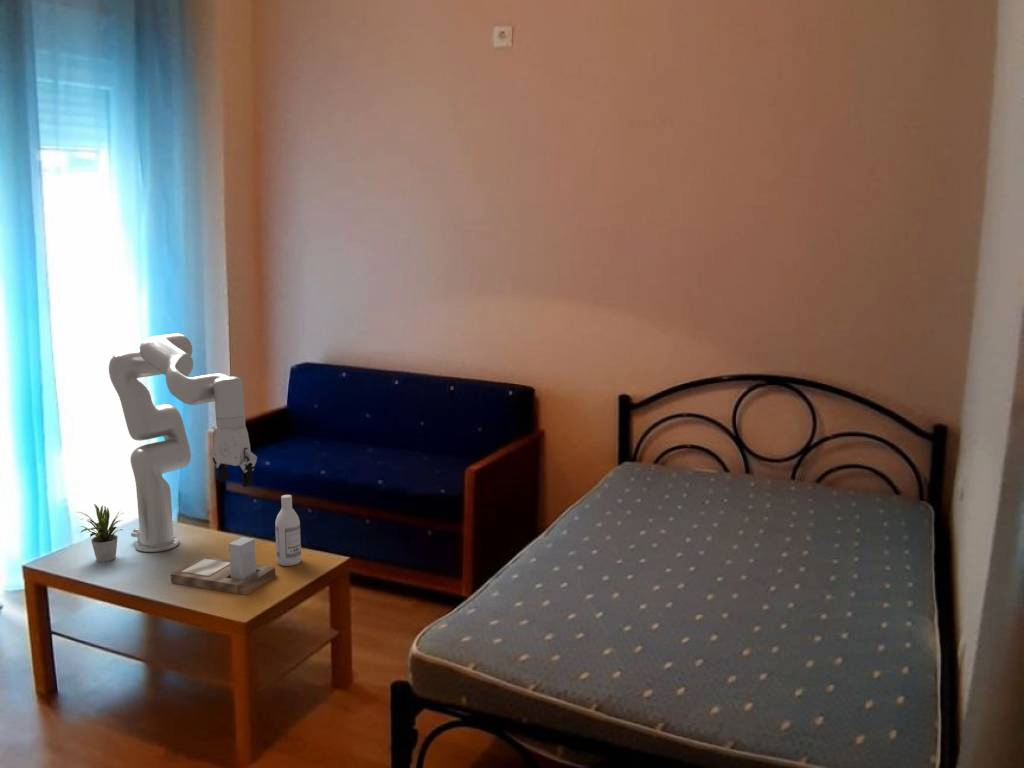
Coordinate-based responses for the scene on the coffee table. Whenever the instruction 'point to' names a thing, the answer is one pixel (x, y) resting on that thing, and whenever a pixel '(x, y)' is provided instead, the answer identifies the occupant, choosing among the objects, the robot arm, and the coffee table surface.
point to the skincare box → (242, 558)
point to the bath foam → (288, 534)
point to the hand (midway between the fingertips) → (235, 483)
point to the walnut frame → (220, 576)
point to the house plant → (103, 535)
